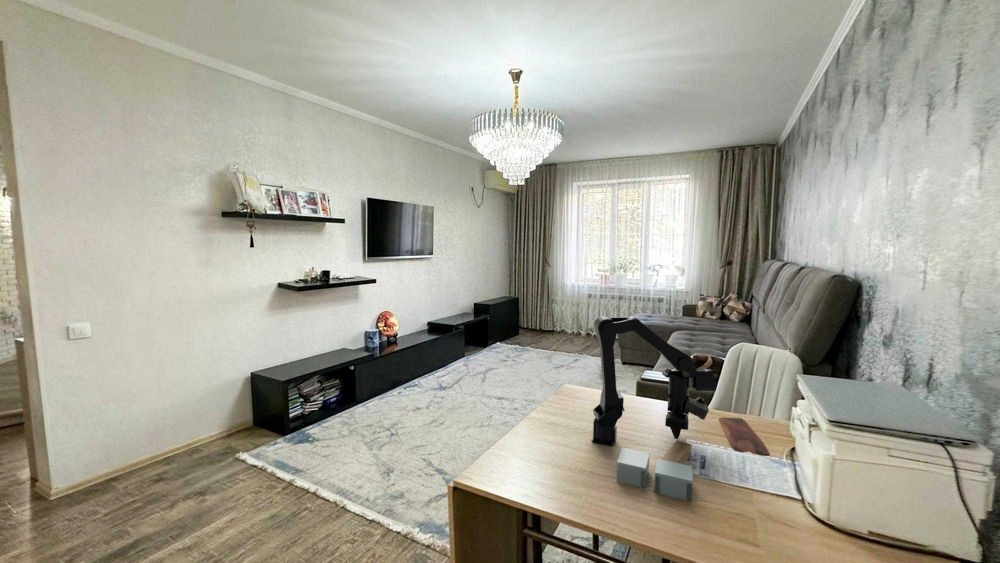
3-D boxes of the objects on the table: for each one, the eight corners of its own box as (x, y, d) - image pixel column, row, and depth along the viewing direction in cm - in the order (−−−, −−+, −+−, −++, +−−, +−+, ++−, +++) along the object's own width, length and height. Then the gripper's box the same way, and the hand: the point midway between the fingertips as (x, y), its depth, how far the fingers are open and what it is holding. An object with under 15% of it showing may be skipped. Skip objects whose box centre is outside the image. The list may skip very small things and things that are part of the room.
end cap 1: (645, 488, 102) (646, 468, 101) (616, 481, 105) (617, 461, 104) (648, 471, 109) (649, 453, 109) (621, 465, 112) (622, 447, 112)
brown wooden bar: (657, 473, 109) (658, 461, 109) (676, 451, 121) (677, 440, 121) (673, 479, 106) (673, 466, 106) (690, 455, 118) (691, 444, 118)
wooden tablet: (716, 413, 145) (747, 413, 142) (716, 419, 145) (747, 420, 142) (732, 448, 120) (771, 450, 117) (733, 455, 120) (771, 457, 117)
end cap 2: (654, 492, 100) (655, 472, 99) (656, 477, 106) (657, 458, 106) (691, 501, 96) (692, 480, 96) (691, 485, 103) (692, 466, 102)
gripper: (708, 405, 112) (706, 458, 114) (706, 385, 129) (704, 431, 131) (666, 399, 117) (664, 450, 119) (669, 380, 134) (667, 424, 135)
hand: (676, 438), depth 126 cm, fingers closed
